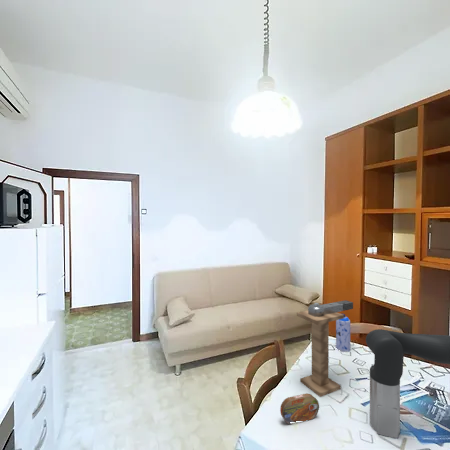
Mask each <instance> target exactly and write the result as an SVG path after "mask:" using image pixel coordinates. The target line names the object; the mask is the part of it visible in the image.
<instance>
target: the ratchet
mask: <svg viewBox="0 0 450 450" xmlns="http://www.w3.org/2000/svg"><path fill="white" fill-rule="evenodd" d="M353 309H354V302H353V301H349V300H347V299H344V300H340V301H335V302H334V301H333V302H330V303H324V304H319V302H314V303H313V304H309V306H308V307H307V310H308V314H309V315H312V316H314V317H322V316H324V315H326V314H331V313H336V312H337V313H341V312H345V311H349V310H353Z"/></svg>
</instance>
